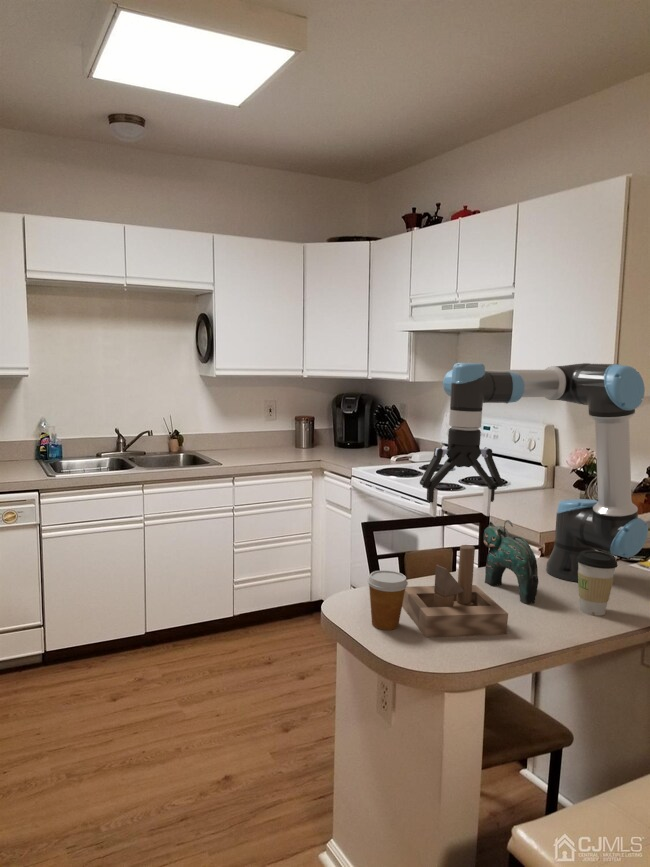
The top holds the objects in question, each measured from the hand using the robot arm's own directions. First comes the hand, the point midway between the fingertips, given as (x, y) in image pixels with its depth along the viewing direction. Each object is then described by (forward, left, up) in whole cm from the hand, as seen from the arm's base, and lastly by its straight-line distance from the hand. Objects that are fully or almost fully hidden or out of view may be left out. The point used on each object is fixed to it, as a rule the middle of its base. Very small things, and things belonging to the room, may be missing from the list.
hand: (459, 515), depth 160 cm
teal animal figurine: (-23, -17, -26) cm, 39 cm away
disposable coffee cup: (+18, +2, -26) cm, 32 cm away
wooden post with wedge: (0, 0, -26) cm, 26 cm away
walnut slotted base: (0, 0, -26) cm, 26 cm away
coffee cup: (-39, -2, -26) cm, 47 cm away
